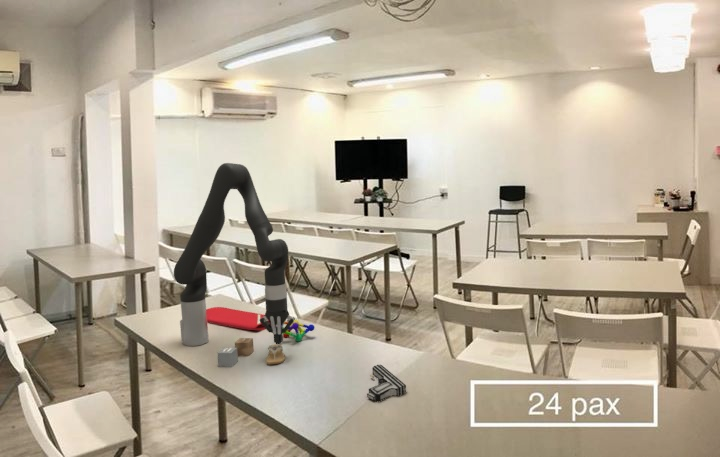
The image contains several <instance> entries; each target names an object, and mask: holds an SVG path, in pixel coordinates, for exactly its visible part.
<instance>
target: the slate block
mask: <svg viewBox="0 0 720 457" xmlns="http://www.w3.org/2000/svg"><path fill="white" fill-rule="evenodd" d="M238 362H239V356H238V354H237V348H235V347H222V349H220V350H219V351H218V352H217V365H218V367H220V368H221V367H225V368H233V367H234V366H235V365H236V364H237V363H238Z"/></svg>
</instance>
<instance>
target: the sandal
mask: <svg viewBox="0 0 720 457" xmlns="http://www.w3.org/2000/svg"><path fill="white" fill-rule="evenodd" d="M267 349H268V353H269V354H268V355H267V357H266V358H265V364H266V365H277V364H282V363H283V362H285V360H286V359H285V358H286V357H285V355H284V353H283V346H282V344H276V343H275V344H269V345H268V348H267Z"/></svg>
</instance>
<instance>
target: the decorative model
mask: <svg viewBox="0 0 720 457" xmlns="http://www.w3.org/2000/svg"><path fill="white" fill-rule="evenodd" d="M287 324H288V322H287V321H285V322H284V324H283V325H287ZM301 327H302V328H301ZM283 328H285V326H283ZM304 328H305V329H304ZM292 330H294V332H295V333H292ZM314 330H315V325H314V324H311V323H310V324H309V325H307V324H304V323H300V322H299V320H296V319H295V320H294V322H293V323H292V324H291V326H290V327H289V328H288V330H287V331H286V332H285V333H282V334H283V338H289V337H293V338H294V339H295V341H296V342H300V341H302V337H304V336H305V335H307V333H309V332H313V331H314Z"/></svg>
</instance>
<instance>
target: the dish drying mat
mask: <svg viewBox="0 0 720 457" xmlns="http://www.w3.org/2000/svg"><path fill="white" fill-rule="evenodd" d="M206 313H207V324H208V323H209V324H213V325H219V326H223V327H224V326H225V327H230V328H236V329H241V330H242V329H243V330H249V331H256V332H257V331H258V332H261V331H265V330H267V329H266V328H265V327H264V326H263V325H262V323H261V322H260V319H261V318H262V317H264V316H265V314H261V313H256V312H251V311H245V310H244V311H243V310H239V309H232V308H228V307H224V306H223V307H222V306H217V307H216V306H215V307H209V308H206ZM268 322H269V320H268ZM269 323H270V322H269ZM270 324H271V323H270ZM271 326H272V325H271Z"/></svg>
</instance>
